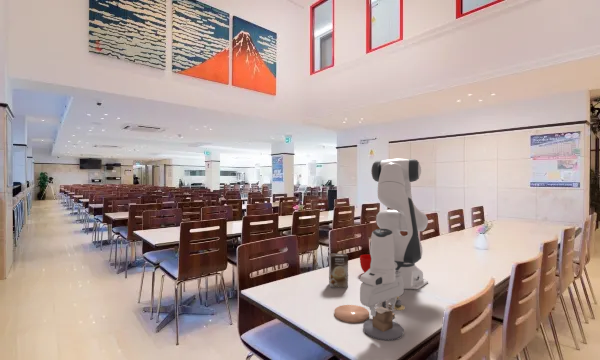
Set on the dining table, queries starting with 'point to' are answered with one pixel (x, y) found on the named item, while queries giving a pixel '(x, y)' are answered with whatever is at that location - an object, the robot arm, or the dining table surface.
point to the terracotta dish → (351, 313)
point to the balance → (397, 306)
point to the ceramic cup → (365, 262)
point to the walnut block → (383, 319)
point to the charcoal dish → (378, 334)
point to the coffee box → (338, 270)
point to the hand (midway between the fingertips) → (383, 312)
